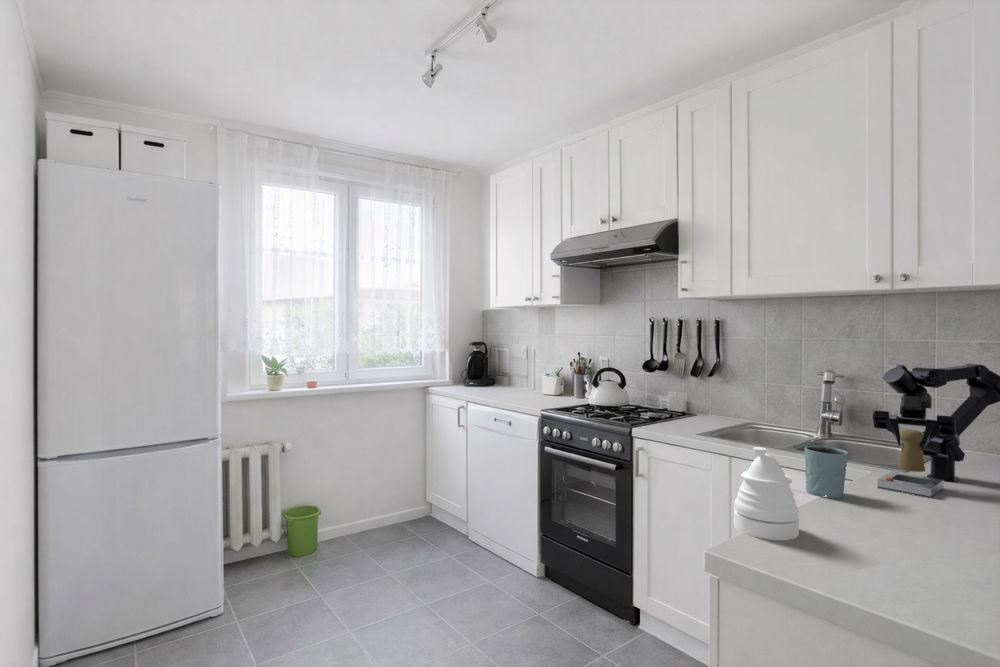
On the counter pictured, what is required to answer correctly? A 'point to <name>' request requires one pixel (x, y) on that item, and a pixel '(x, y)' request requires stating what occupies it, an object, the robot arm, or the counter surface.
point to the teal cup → (825, 471)
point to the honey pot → (766, 501)
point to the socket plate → (911, 484)
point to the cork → (911, 451)
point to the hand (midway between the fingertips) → (910, 446)
